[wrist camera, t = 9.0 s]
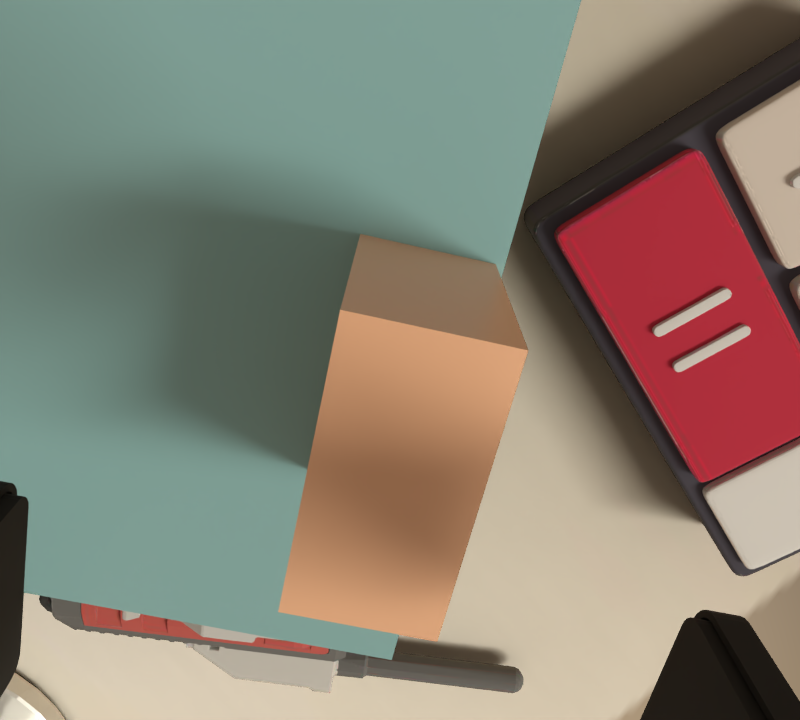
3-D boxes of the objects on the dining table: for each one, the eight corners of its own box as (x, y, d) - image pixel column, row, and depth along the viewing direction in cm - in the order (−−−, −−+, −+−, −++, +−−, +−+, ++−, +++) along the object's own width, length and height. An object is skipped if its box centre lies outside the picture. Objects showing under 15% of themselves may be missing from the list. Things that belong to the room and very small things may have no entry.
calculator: (899, 5, 20) (1076, 445, 24) (821, 17, 24) (983, 393, 28) (529, 230, 22) (746, 596, 26) (515, 207, 26) (705, 527, 30)
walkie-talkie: (58, 619, 33) (513, 676, 34) (8, 701, 29) (527, 763, 30) (51, 442, 30) (558, 510, 30) (-6, 508, 25) (581, 583, 26)
